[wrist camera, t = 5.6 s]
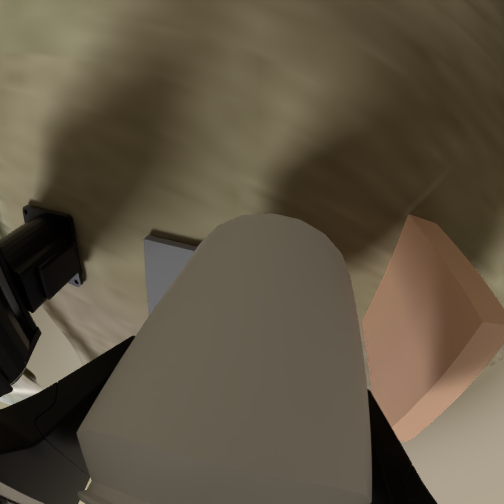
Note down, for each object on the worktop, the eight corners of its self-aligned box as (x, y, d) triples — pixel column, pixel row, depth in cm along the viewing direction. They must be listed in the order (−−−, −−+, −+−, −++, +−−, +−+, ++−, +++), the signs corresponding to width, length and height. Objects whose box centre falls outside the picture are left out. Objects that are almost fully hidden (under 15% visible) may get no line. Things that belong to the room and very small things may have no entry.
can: (217, 181, 12) (-15, 448, 2) (376, 243, 12) (445, 548, 2) (185, 305, 16) (83, 502, 5) (308, 350, 16) (284, 559, 5)
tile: (361, 321, 18) (375, 441, 10) (407, 213, 14) (482, 321, 6) (391, 326, 18) (414, 440, 10) (441, 224, 14) (520, 327, 6)
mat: (157, 353, 24) (154, 358, 23) (148, 234, 18) (144, 239, 17) (288, 388, 23) (287, 393, 22) (334, 277, 17) (335, 282, 16)
